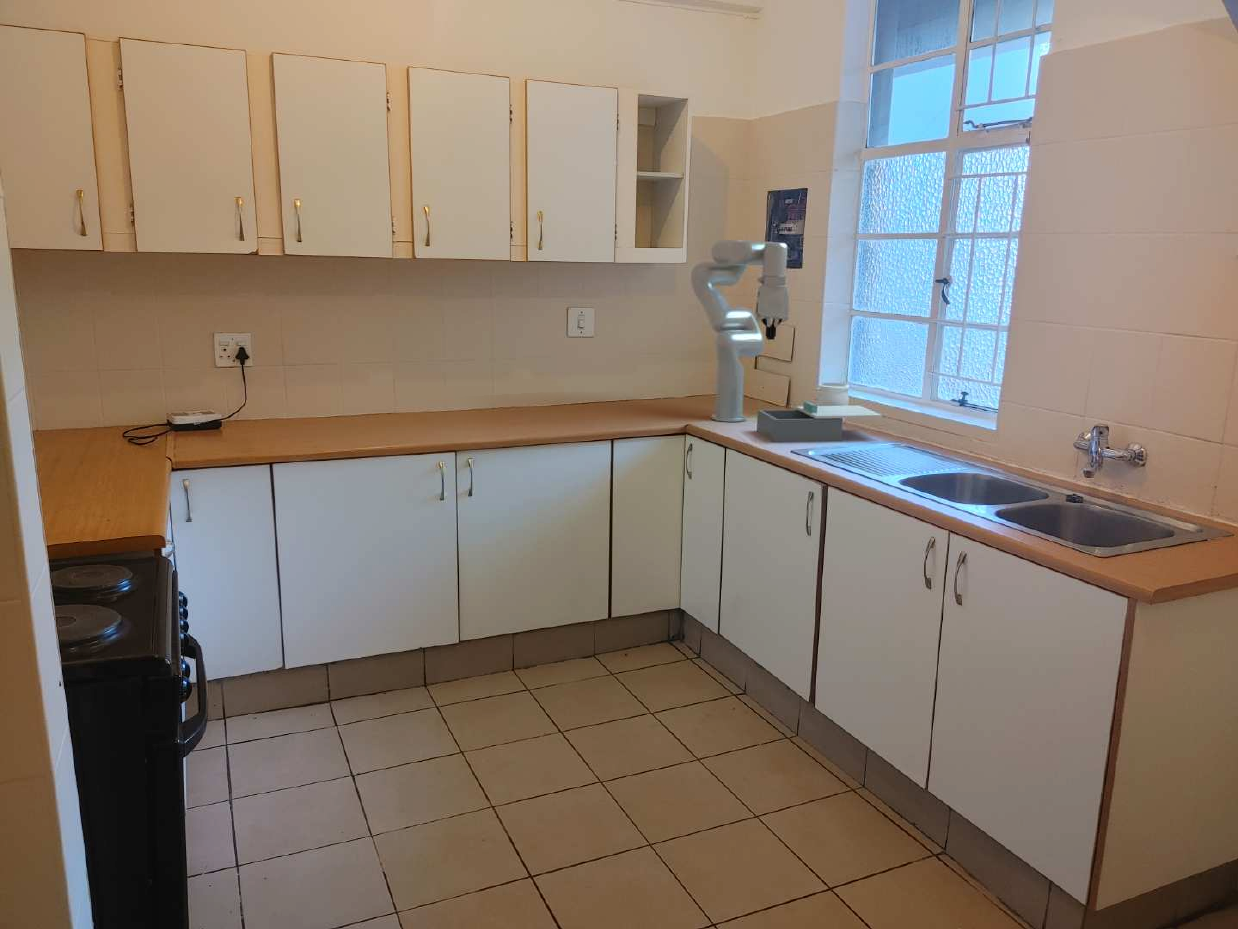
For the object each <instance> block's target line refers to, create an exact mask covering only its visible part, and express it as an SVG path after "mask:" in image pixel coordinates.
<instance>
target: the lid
mask: <svg viewBox="0 0 1238 929" xmlns="http://www.w3.org/2000/svg"><path fill="white" fill-rule="evenodd" d="M795 410H799V411H801V412H803V413H805V414H807V415H809V416H811V417H813V418H815V419H818V418H845V419H868V418H869V419H874V418H875V419H876V418H877V419H878V418H879V419H880V418H881V419H882V418H883V414H880V413H878V412H875V411H873V410H872V409H870V408H869V409H868V408H866V407H863V406H861V405H848V406H817V404H815V403H813V402H810V401H803V405H802V406H801V405H799V406H798V405H797V406H795Z"/></svg>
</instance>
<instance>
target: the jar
mask: <svg viewBox="0 0 1238 929" xmlns="http://www.w3.org/2000/svg"><path fill="white" fill-rule="evenodd" d="M818 388H819V391H818V394H817V404H816V405H817V406H849V404H850V403H849V402H850V400H849V397H850V396H849V389H850V385H849V384H846V383H840V382H822V383H821V382H820V383H819V384H818ZM842 419H843V423H844V422H845V420H846V418H842ZM843 427H844V425H843V424H842V428H843Z"/></svg>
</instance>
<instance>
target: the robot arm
mask: <svg viewBox="0 0 1238 929" xmlns="http://www.w3.org/2000/svg"><path fill="white" fill-rule="evenodd" d="M788 249H789V248H788V245H787V244H786V243H785V242H779V241H777V242H776V241H775V242H774V241H759V240H748V241H746V240H744V239H722V240H718V241H716V242H715V243H714V244H713V245H712V247H711V249H710V255H711V258H712V259H713V261H705V262H700V263H697V264H696V265H694V266H693V268H692V270H691V274H690V280H691V287H692V290H693V292H694V294H695V296H696V298H697V299H698V301H699V302H700V304H701V306H702V307H703V310H704V313H705V315H706V317H707V319H708V322H709V324H710V326H711V329H712V330H713V332H715V333H716V334H718V335H716V338H715V342H714V344H715V351H716V363H717V365H716V366H717V368H716V369H717V370H716V392H715V393H716V394H715V396H716V397H715V413H712V414H711V416H710V419H711V418H712V420H713V419H714V420H713V421H717V422H723V423H724V422H725V423H726V422H727V423H738V422H739V423H740V422H745V421H746V420H747V415H746V414H743V405H744V384H745V368H744V366H743V364H742V362H741V360H740V358H750V357H751V358H752V357H758V356H760V355H761V354H763V353H764V351H765V348H766V347H765V337H766V339H767V340H770V341H771V340H772V341H775V338H776V336H777V335H776V334H777V328H778V326H779V325H780V324H781V323H783V322H788V320H789V318H788V317H789V315H790V295H789V294H790V292H789V286H786V283H787V282H786V280H787V278H786V277H787V262H788V260H787V259H788ZM748 266H762V270H761V271H762V273H761V275H762V276H760V277H758V278H757V283H760V284H761V285H760V286H759V287H758V293H757V296H756V303H755V304H756V305H755V314H754V313H753V311H752V310H751V309H750V308H747V307H746V306H731V305H729V303H728V302H727V299H726V297H725V296H724V294H723V293H722V292H721V290H719V289H717V288H716V287H729V286H731V287H732V286H735V285H736V284H738V282H740V279H741V278H742V276H743V275H744V273H745V271H746V269H747V268H748ZM771 320H772V321H771ZM758 322H760V323H762V324H763V325H764V326H765V337H764V335H763V332H762V331H761V328H760V326H759V324H758Z"/></svg>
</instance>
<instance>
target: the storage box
mask: <svg viewBox="0 0 1238 929" xmlns="http://www.w3.org/2000/svg"><path fill="white" fill-rule="evenodd" d="M756 417H757V418H756V419H757V420H756V432H757V433H759V434H761V436H764V437H765V438H766V439H768V440H770V441H771V442H773V443H813V442H815V443H816V442H842V436H843V427H842V425H843V424H844V422H843V419H842V418H818V419H815V418H813V417H811V416H809V415H807V414H805V413H803V412H801V411H799V410H797V409H758V410H757V416H756Z"/></svg>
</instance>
